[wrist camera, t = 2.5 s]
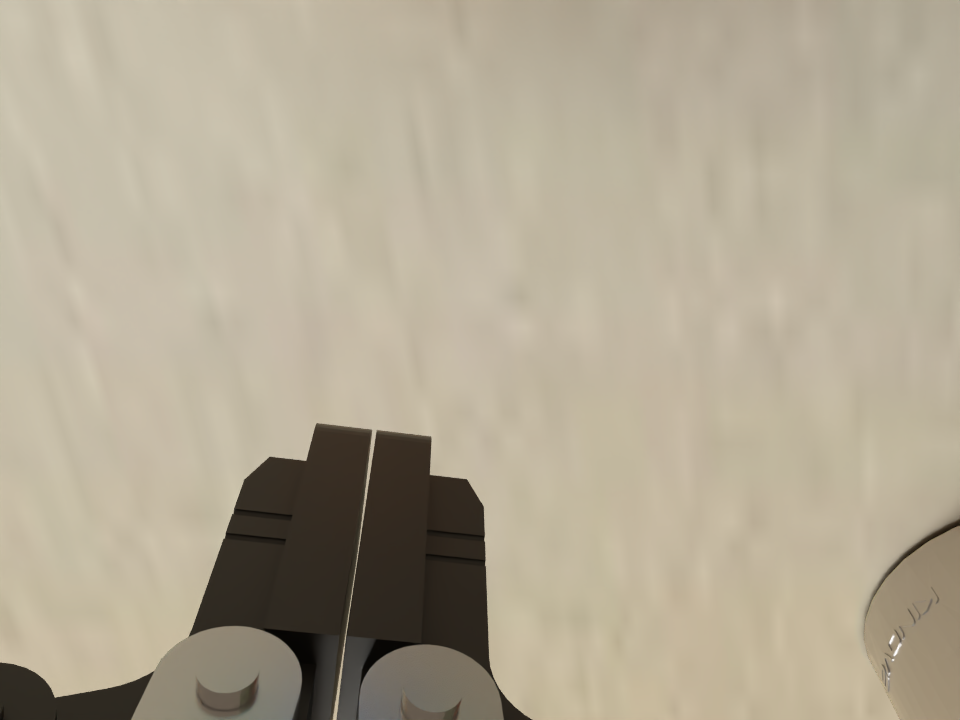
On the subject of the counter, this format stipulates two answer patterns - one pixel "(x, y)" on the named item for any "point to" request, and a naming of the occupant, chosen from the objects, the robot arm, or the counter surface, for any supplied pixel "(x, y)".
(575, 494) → the counter surface
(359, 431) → the robot arm
